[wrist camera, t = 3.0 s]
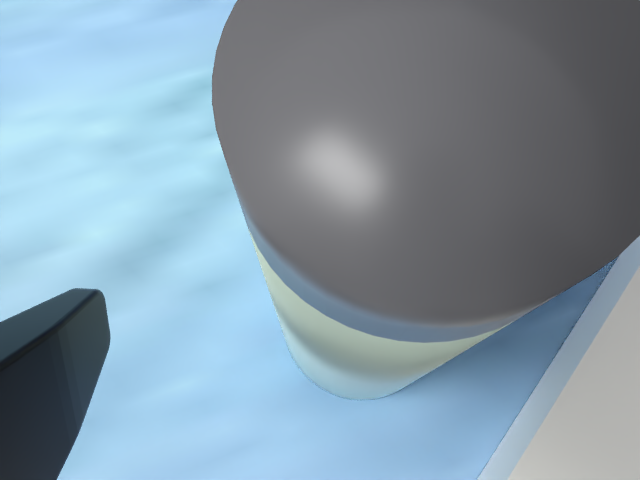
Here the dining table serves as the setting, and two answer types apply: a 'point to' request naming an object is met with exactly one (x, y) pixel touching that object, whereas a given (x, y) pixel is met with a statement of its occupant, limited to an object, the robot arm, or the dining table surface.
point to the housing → (585, 395)
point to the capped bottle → (426, 168)
